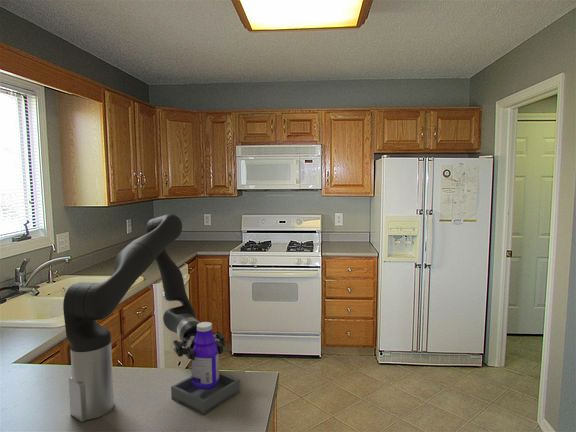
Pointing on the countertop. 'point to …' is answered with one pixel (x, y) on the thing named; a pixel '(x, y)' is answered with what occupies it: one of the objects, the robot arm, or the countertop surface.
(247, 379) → the countertop surface
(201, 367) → the bottle
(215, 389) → the tray
